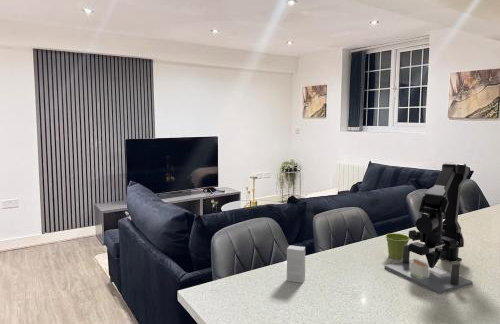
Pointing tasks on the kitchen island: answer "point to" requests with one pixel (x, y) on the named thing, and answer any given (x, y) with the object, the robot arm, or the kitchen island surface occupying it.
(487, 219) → the kitchen island surface
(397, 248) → the plant pot
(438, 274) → the panel
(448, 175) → the robot arm
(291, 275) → the skincare box
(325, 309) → the kitchen island surface
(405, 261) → the cord post
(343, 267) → the kitchen island surface
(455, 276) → the cord post
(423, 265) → the orange striped block
